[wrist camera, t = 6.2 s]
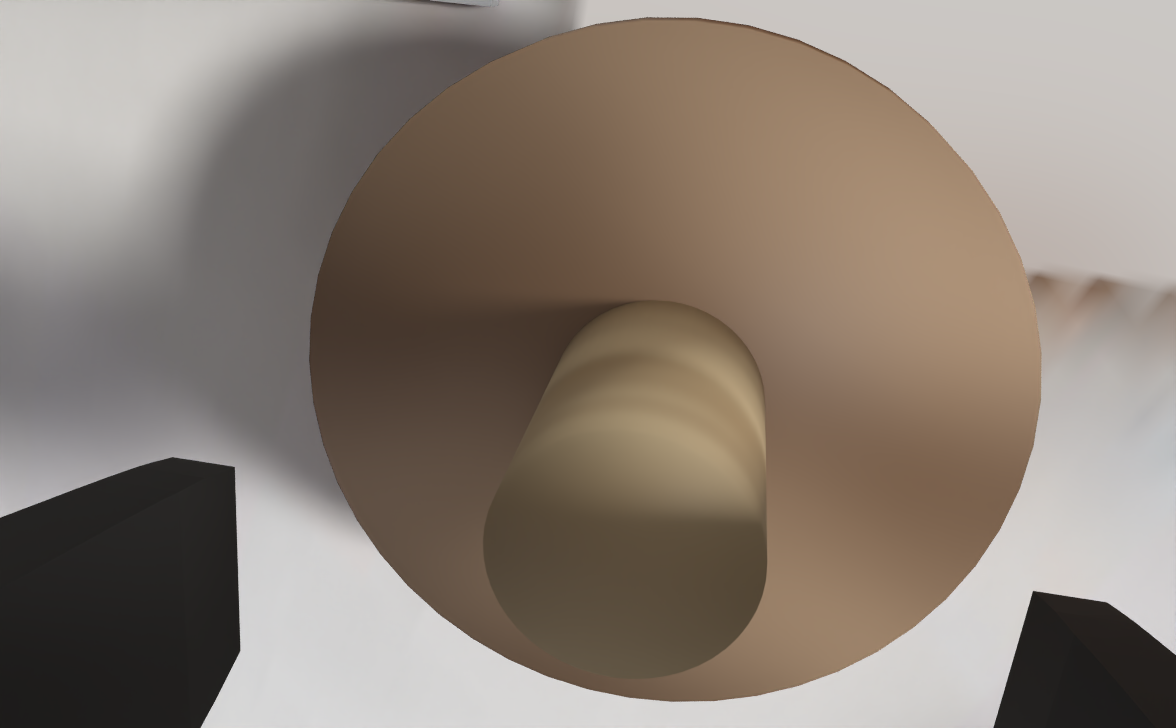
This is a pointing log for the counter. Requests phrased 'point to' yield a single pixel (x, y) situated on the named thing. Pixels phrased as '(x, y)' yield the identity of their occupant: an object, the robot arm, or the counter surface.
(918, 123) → the lid
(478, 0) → the mat
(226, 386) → the counter surface
